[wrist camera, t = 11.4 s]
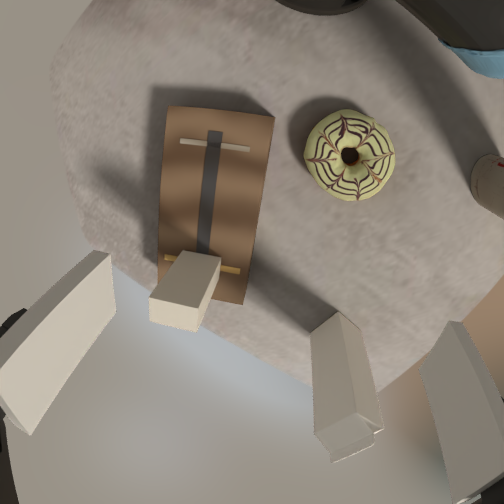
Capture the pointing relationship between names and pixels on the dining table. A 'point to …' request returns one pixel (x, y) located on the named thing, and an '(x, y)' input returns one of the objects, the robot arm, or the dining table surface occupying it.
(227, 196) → the brown flat block
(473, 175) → the thermos bottle
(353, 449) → the milk
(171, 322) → the fader tab
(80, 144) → the dining table surface
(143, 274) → the dining table surface
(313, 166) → the decorated donut
